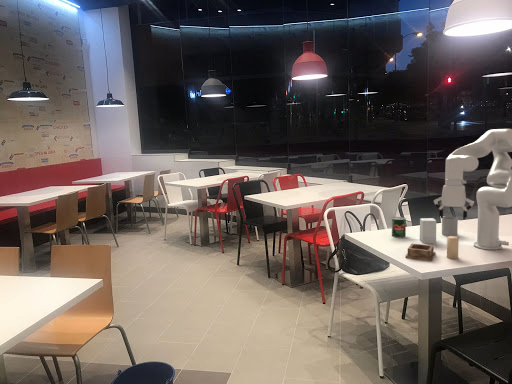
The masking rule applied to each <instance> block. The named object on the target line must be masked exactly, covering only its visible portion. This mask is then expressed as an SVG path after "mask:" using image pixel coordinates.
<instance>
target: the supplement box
mask: <svg viewBox="0 0 512 384" xmlns="http://www.w3.org/2000/svg"><path fill="white" fill-rule="evenodd" d="M419 241H420V242H421V243H422V244H424V243H425V244H436V243H437V220H436V219H435V218H434V217H432V218H431V217H430V218H429V217H427V218H423V217H422V218H419Z"/></svg>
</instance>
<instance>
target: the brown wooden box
mask: <svg viewBox="0 0 512 384" xmlns="http://www.w3.org/2000/svg"><path fill="white" fill-rule="evenodd" d="M434 247H435V246H434V245H433V244H424V243H422V244H421V243H411V244H410V245H409V246H408V248H407V253H406V255H405V258H406V259H413V260H422V261H430V262H433V259H434V258H435V255H436V251H434Z"/></svg>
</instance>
